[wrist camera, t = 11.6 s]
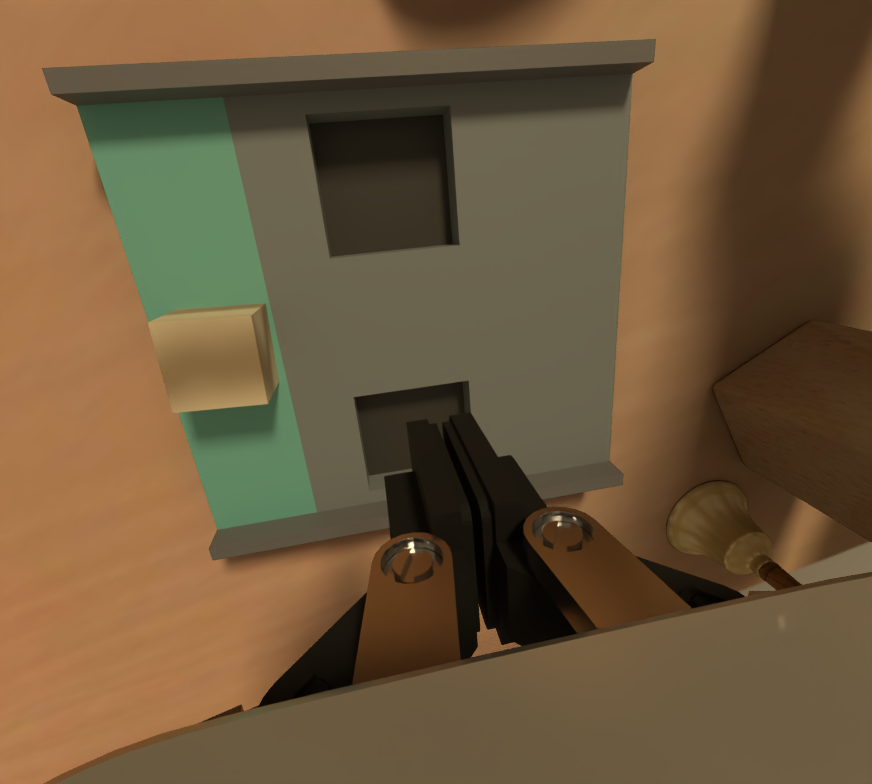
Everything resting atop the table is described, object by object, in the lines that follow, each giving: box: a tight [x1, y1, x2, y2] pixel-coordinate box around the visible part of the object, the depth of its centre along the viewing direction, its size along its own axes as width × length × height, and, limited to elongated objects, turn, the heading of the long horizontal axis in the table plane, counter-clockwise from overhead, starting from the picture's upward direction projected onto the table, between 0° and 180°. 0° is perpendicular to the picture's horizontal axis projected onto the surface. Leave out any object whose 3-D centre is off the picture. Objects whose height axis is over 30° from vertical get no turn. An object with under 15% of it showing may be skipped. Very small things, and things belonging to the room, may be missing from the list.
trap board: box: [42, 39, 656, 560], centre depth 29 cm, size 28×30×4 cm
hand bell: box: [666, 481, 802, 590], centre depth 35 cm, size 8×8×16 cm
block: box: [148, 303, 279, 413], centre depth 25 cm, size 5×5×4 cm
